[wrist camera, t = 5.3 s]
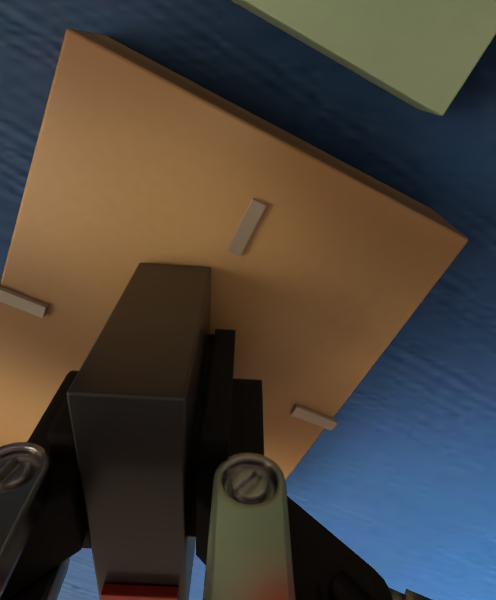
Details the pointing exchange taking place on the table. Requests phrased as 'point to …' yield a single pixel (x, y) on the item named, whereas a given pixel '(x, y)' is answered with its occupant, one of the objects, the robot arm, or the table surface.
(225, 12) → the table surface
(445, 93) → the button block
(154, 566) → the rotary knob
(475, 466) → the table surface
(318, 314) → the panel
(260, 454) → the robot arm
